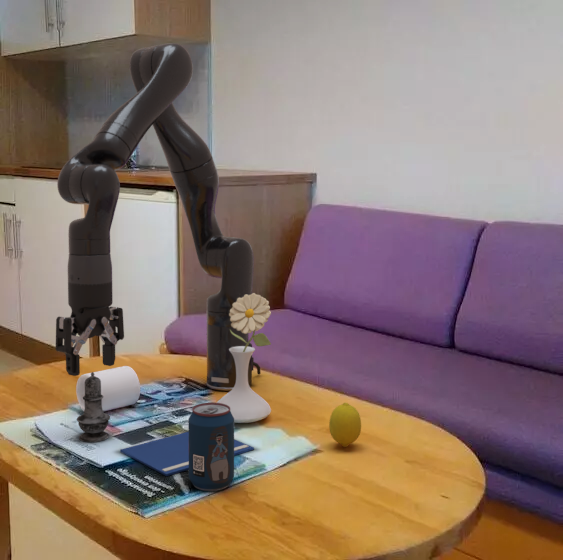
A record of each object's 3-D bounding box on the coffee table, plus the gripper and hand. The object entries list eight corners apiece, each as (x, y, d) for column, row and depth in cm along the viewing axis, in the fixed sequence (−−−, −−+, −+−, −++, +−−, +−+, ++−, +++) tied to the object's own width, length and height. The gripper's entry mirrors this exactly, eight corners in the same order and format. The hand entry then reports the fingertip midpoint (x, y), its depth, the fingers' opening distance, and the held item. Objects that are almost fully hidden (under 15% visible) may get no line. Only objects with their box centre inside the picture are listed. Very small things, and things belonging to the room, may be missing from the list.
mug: (141, 408, 155) (140, 369, 154) (98, 419, 148) (97, 378, 147) (108, 395, 164) (107, 358, 162) (65, 405, 156) (64, 367, 155)
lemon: (363, 443, 137) (364, 400, 136) (356, 454, 131) (357, 409, 130) (333, 439, 138) (334, 396, 137) (325, 450, 133) (326, 405, 132)
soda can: (206, 471, 123) (206, 398, 122) (242, 480, 120) (243, 406, 118) (179, 486, 117) (178, 410, 116) (216, 496, 114) (216, 418, 112)
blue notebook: (205, 429, 143) (205, 426, 143) (254, 449, 133) (254, 447, 133) (120, 451, 131) (120, 449, 131) (166, 476, 121) (166, 473, 121)
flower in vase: (200, 418, 149) (199, 291, 146) (242, 405, 158) (242, 284, 154) (247, 434, 140) (248, 299, 137) (289, 420, 149) (291, 292, 145)
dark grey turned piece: (117, 434, 140) (116, 370, 138) (96, 444, 134) (95, 377, 133) (91, 429, 142) (89, 366, 140) (70, 439, 137) (68, 373, 135)
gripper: (75, 285, 126) (77, 382, 129) (134, 276, 138) (134, 364, 141) (43, 281, 130) (45, 375, 132) (103, 273, 142) (104, 359, 144)
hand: (91, 369), depth 136 cm, fingers open, 8 cm apart
